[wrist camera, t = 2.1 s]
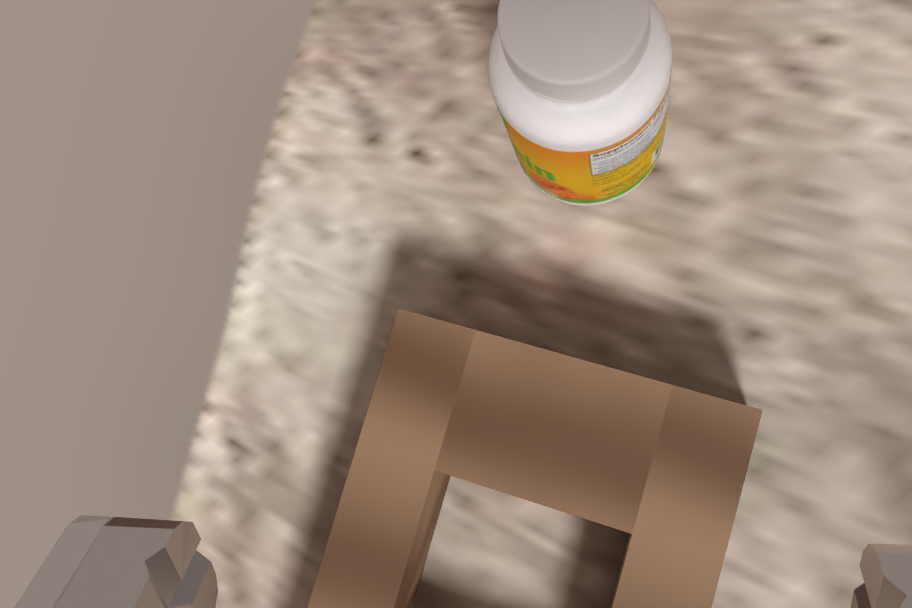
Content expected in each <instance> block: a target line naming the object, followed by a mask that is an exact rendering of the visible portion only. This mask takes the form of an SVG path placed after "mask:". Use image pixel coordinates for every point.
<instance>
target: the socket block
mask: <svg viewBox="0 0 912 608" xmlns="http://www.w3.org/2000/svg"><path fill="white" fill-rule="evenodd" d="M761 414H762V410H761V409H757V408H754V407H750V406H746V405H743V404H739V403H736V402H732V401H728V400H725V399H721V398H718V397H714V396H711V395H707V394H703V393H700V392H696V391H693V390H689V389H686V388H682V387H678V386H675V385H671V384H668V383H664V382H661V381H657V380H653V379H650V378H646V377H643V376H639V375H635V374H632V373H628V372H625V371H621V370H618V369H614V368H610V367H607V366H603V365H600V364H596V363H593V362H589V361H585V360H582V359H578V358H575V357H571V356H568V355H564V354H560V353H557V352H553V351H550V350H546V349H543V348H539V347H535V346H532V345H528V344H525V343H521V342H517V341H514V340H510V339H507V338H503V337H500V336H496V335H492V334H489V333H485V332H482V331H478V330H475V329H471V328H467V327H464V326H460V325H457V324H453V323H450V322H446V321H442V320H439V319H435V318H432V317H428V316H424V315H421V314H417V313H414V312H410V311H407V310H403V309H398V312H397V315H396V318H395V322H394V325H393V328H392V332H391V335H390V338H389V341H388V345H387V348H386V351H385V355H384V358H383V361H382V364H381V368H380V371H379V374H378V377H377V381H376V384H375V387H374V391H373V394H372V397H371V400H370V404H369V407H368V410H367V414H366V417H365V420H364V423H363V427H362V430H361V433H360V437H359V440H358V443H357V446H356V450H355V453H354V456H353V460H352V463H351V466H350V469H349V473H348V476H347V479H346V483H345V486H344V489H343V492H342V496H341V499H340V502H339V506H338V509H337V512H336V515H335V519H334V522H333V525H332V528H331V532H330V535H329V538H328V542H327V545H326V548H325V551H324V555H323V558H322V561H321V565H320V568H319V571H318V574H317V578H316V581H315V584H314V588H313V591H312V594H311V597H310V601H309V604H308V607H307V608H412V605H413V601H414V598H415V595H416V591H417V588H418V584H419V581H420V578H421V574H422V571H423V567H424V564H425V561H426V557H427V554H428V550H429V547H430V543H431V540H432V537H433V533H434V530H435V526H436V523H437V520H438V516H439V513H440V509H441V506H442V503H443V499H444V496H445V492H446V489H447V485H448V482H449V479H450V475H451V476H454V477H457V478H460V479H463V480H466V481H469V482H472V483H476V484H479V485H482V486H485V487H488V488H491V489H494V490H497V491H500V492H503V493H507V494H510V495H513V496H516V497H519V498H522V499H525V500H528V501H531V502H534V503H538V504H541V505H544V506H547V507H550V508H553V509H556V510H559V511H562V512H565V513H568V514H572V515H575V516H578V517H581V518H584V519H587V520H590V521H593V522H596V523H599V524H603V525H606V526H609V527H612V528H615V529H618V530H621V531H624V532H627V533H630V534H629V538H628V541H627V545H626V549H625V552H624V556H623V560H622V564H621V567H620V571H619V575H618V578H617V582H616V586H615V589H614V593H613V597H612V600H611V604H610V608H711V607H712V603H713V599H714V595H715V591H716V587H717V583H718V580H719V576H720V572H721V568H722V564H723V560H724V556H725V553H726V549H727V545H728V541H729V537H730V533H731V530H732V526H733V522H734V518H735V514H736V510H737V506H738V503H739V499H740V495H741V491H742V487H743V483H744V480H745V476H746V472H747V468H748V464H749V460H750V456H751V453H752V449H753V445H754V441H755V437H756V433H757V429H758V426H759V422H760V418H761Z"/></svg>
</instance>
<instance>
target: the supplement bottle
mask: <svg viewBox="0 0 912 608" xmlns="http://www.w3.org/2000/svg"><path fill="white" fill-rule="evenodd" d="M671 72H672V45H671V39H670V35H669V31H668V28H667V26H666V23H665V21H664V18H663V16H662V15H661V13H660V11H659V10H658V8H657V7H656V5H655V4H654V3H653V1H652V0H500V2H499V7H498V14H497V28H496V30H495V33H494V35H493V38H492V42H491V46H490V51H489V60H488V73H489V80H490V85H491V89H492V92H493V96H494V99H495V101H496V104H497V107H498V109H499V112H500V114H501V117H502V119H503V122H504V124H505V127H506V129H507V132H508V134H509V137H510V139H511V142H512V145H513V147H514V150H515V152H516V155H517V158H518V160H519V162H520V164H521V166H522V168H523V170H524V172H525V173H526V175H527V176H528V178H529V179H530V180H531V182H532V183H533V184H534V185H535V186H536V187H537V188H539V189H540V190H541V191H542V192H544V193H545V194H547V195H548V196H550V197H552V198H554V199H556V200H559V201H561V202H564V203H568V204H573V205H581V206H589V205H598V204H603V203H607V202H610V201H613V200H616V199H618V198H620V197H622V196H624V195H626V194H628V193H629V192H631V191H632V190H634V189H635V188H636V187H637V186H638V185H639V184H641V183H642V182H643V181H644V179H645V178H646V177H647V176H648V174H649V173H650V172H651V170H652V169H653V167H654V165H655V163H656V161H657V159H658V157H659V154H660V152H661V148H662V144H663V140H664V133H665V125H666V115H667V107H668V100H669V89H670V80H671Z"/></svg>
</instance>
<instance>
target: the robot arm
mask: <svg viewBox="0 0 912 608" xmlns="http://www.w3.org/2000/svg"><path fill="white" fill-rule="evenodd" d="M200 540H201V538H200V536H199V534H198V532H197V530H196V528H195V526H194V524H193V522H185V521H170V520H155V519H139V518H124V517H103V516H82V515H81V516H79V517H78V518H76V519H75V520H74V521H72V522H71V523H69V524H68V526H67V527H66V529H65V530H64V532H63V533H62V535H61V536H60V538H59V540H58V541H57V543H56V544H55V546H54V547H53V549H52V550H51V552H50V554H49V555H48V556H47V558H46V560H45V561H44V563H43V564H42V566H41V567H40V569H39V570H38V572H37V574H36V575H35V577H34V578H33V580H32V581H31V583H30V584H29V586H28V588H27V589H26V591H25V592H24V594H23V595H22V597H21V599H20V600H19V602H18V603H17V605H16V606H15V608H215V606H216V600H217V593H218V587H217V579H216V573H215V571H214V568H213V566H212V563H211V561H209V560H208V559H207V558H205V557H204V556H203V555H201V554H200V553H199V552H197V551H196V549H197V547H198V544H199V542H200ZM860 568H861V571H862V575H863V579H864V582H865V583H863V584H862V585H860V586H859V587H858V588H856V589H855V590H854V592H853V598H852V603H851V608H912V545H895V544H868V545H867V547H866V548H865V549H864V550H863V554H862V558H861V562H860Z"/></svg>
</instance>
